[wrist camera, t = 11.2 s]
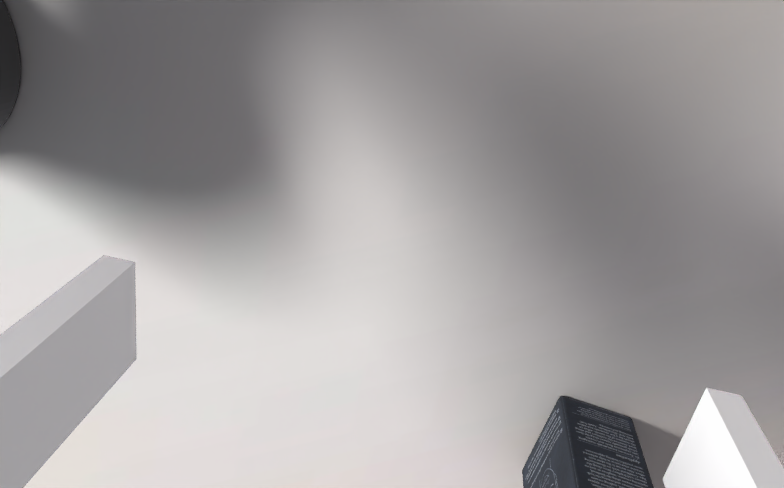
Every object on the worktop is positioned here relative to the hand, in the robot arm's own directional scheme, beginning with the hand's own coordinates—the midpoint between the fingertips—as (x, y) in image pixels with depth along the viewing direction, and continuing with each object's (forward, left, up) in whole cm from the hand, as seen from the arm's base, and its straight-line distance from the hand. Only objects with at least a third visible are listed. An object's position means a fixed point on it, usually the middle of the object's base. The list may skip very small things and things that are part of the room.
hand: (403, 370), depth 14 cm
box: (+14, -22, -27) cm, 38 cm away
